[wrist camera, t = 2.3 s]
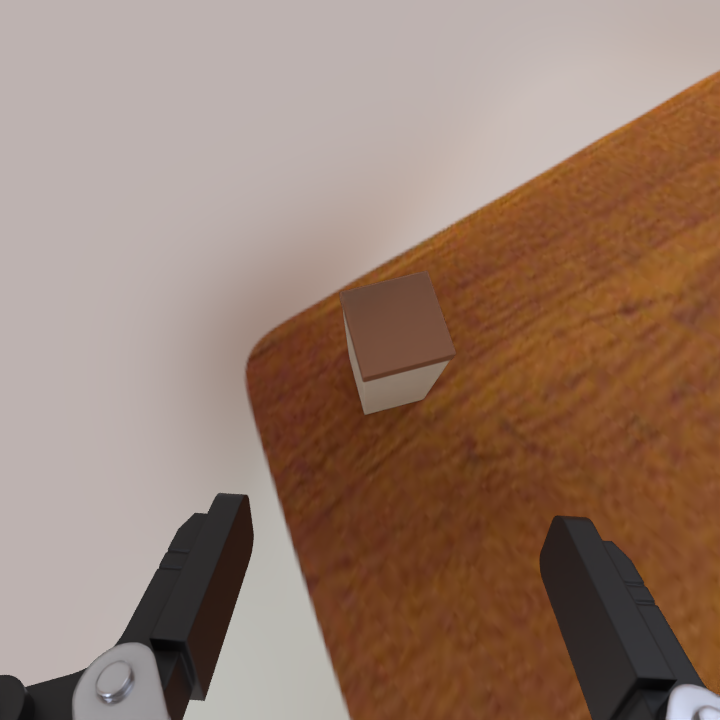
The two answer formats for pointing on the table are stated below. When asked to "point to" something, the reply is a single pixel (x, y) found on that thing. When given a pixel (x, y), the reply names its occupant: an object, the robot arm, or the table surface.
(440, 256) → the table surface
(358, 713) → the table surface
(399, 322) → the brown square block
